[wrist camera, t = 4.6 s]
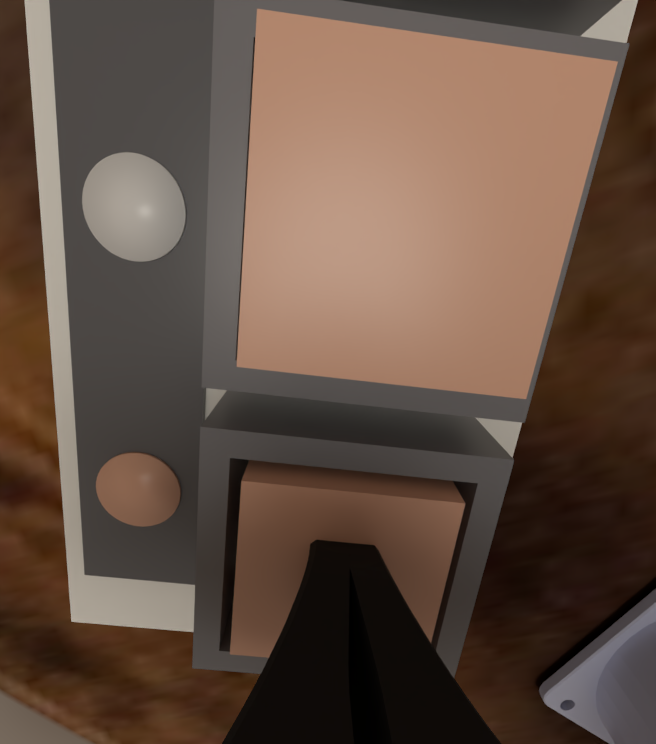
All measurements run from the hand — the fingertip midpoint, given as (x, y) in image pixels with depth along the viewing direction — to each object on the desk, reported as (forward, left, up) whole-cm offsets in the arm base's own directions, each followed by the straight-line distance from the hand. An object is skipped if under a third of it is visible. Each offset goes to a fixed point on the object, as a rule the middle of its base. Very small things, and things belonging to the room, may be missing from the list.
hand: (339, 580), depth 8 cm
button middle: (+3, -6, -1) cm, 7 cm away
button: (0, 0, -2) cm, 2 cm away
